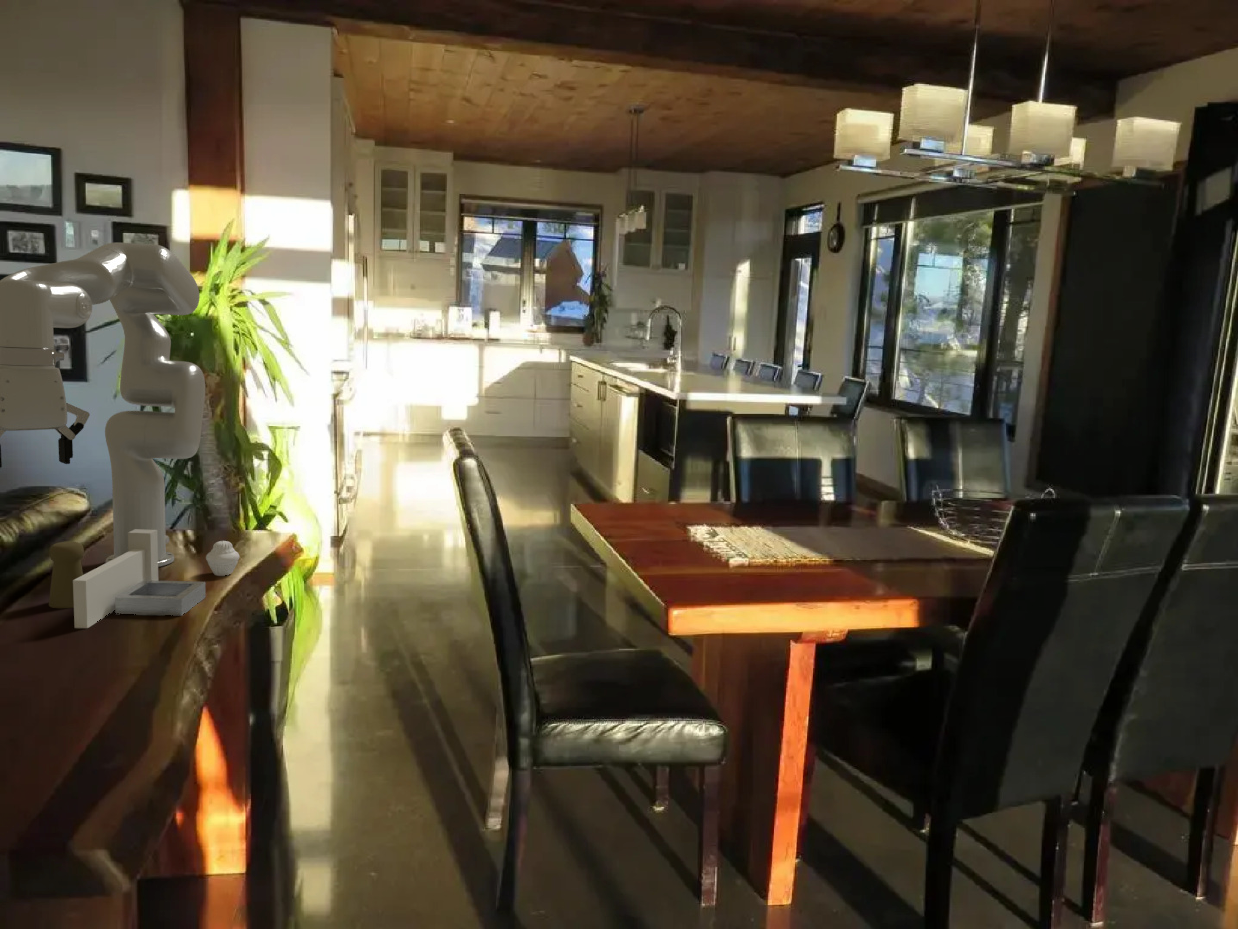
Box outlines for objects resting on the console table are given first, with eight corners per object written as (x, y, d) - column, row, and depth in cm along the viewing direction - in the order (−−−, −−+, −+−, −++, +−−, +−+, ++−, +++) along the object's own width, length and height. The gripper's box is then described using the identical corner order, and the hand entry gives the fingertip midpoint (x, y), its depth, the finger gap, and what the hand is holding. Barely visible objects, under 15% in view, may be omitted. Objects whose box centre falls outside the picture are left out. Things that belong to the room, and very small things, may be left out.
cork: (69, 609, 156) (67, 547, 155) (40, 606, 158) (37, 544, 156) (96, 600, 162) (94, 540, 161) (67, 597, 163) (65, 537, 162)
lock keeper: (143, 596, 166) (143, 580, 166) (205, 597, 167) (205, 581, 167) (115, 614, 155) (114, 597, 155) (181, 615, 156) (181, 599, 156)
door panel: (136, 585, 172) (135, 529, 171) (158, 586, 172) (157, 529, 171) (68, 627, 147) (65, 562, 146) (93, 628, 148) (91, 562, 146)
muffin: (241, 569, 187) (241, 536, 186) (237, 577, 181) (237, 543, 180) (208, 570, 185) (208, 537, 184) (203, 578, 179) (203, 544, 178)
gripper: (78, 358, 153) (82, 458, 155) (-46, 356, 140) (-40, 466, 143) (94, 360, 148) (98, 464, 151) (-32, 359, 135) (-27, 472, 138)
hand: (31, 465), depth 147 cm, fingers open, 9 cm apart
